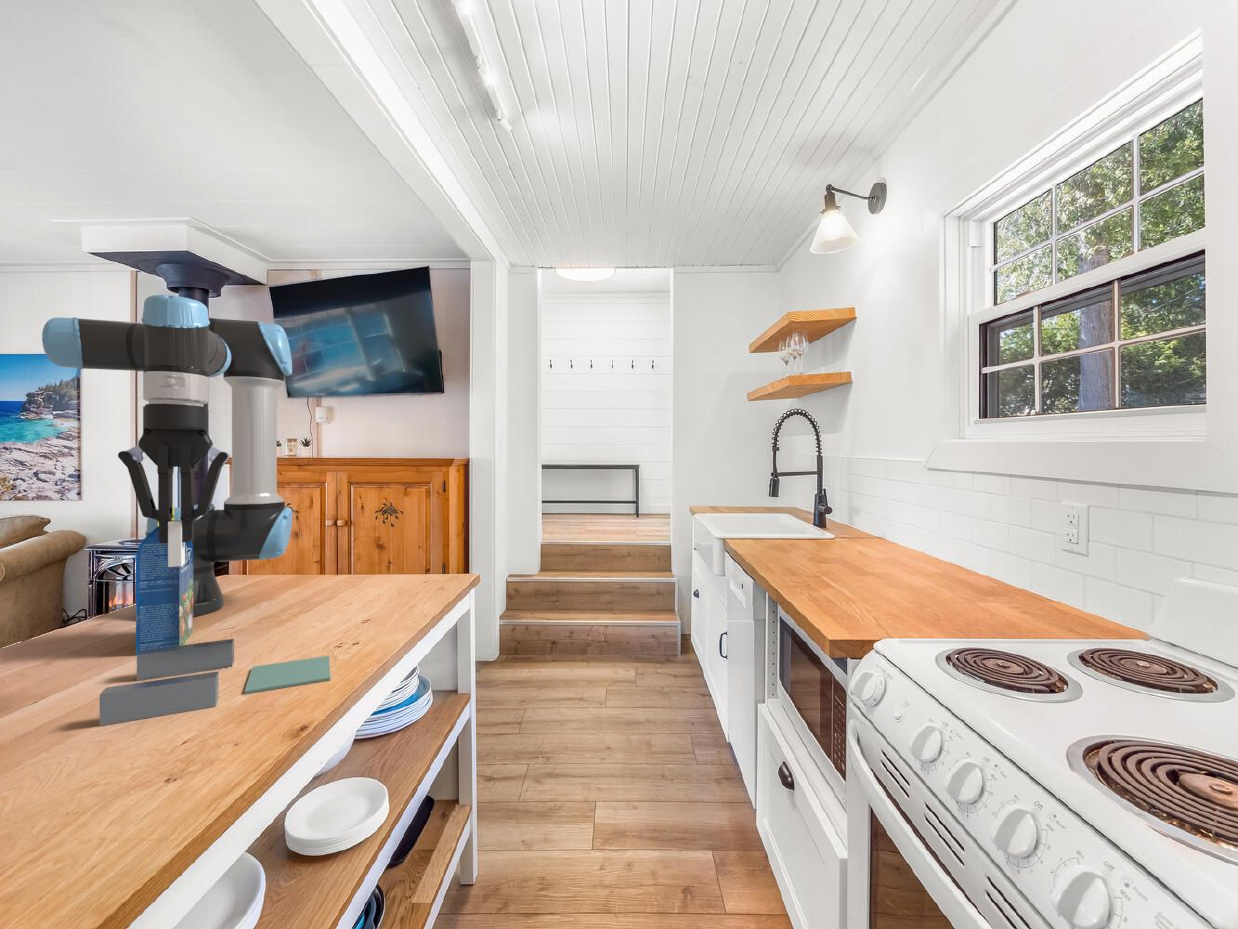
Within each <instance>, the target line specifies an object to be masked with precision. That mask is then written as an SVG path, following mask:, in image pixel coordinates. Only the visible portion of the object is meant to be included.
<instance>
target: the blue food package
mask: <svg viewBox="0 0 1238 929" xmlns="http://www.w3.org/2000/svg"><path fill="white" fill-rule="evenodd" d="M174 508H175V506H173V515H174ZM172 520H174V516H173V518H172ZM135 556H136V557H135V616H136V617H135V657H137V654H138V653H139V652H140V651H141V650H147V649H155V648H163V647H171V646H179V645H186V644H185V643H186V642H187V641H188V640H189V639H190V637H191V635H192V634H193V632H194V617H193V543H192V541H191V542H185V564H183V565H182V566H176V567H168V543H162V544H161V543H160V541H159V522H158V527H156V528H155V529H154V530H153V531H152V532H151V533H150V534H149V535H148V536H147V537H146V536H145V537H144V539H143V540H142V541H141V542H140V544H139V545H138V548H137V551H136V555H135ZM192 631H193V632H192ZM191 633H192V634H191ZM187 639H188V640H187ZM186 640H187V641H186ZM185 641H186V642H185Z"/></svg>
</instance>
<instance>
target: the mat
mask: <svg viewBox="0 0 1238 929" xmlns="http://www.w3.org/2000/svg"><path fill="white" fill-rule="evenodd" d="M330 667H331V665H330V655H324V656H323V655H322V656H318V657H312V658H311V657H310V658H304V659H297V660H289V661H284V662H283V661H282V662H277V663H269V664H263V665H256V666H252V667H251V670H250V671H249V672H250V674H249V676H248V679H247V682H246V685H245V688H244V691H243V692H244V693H243V695H247V694H253V693H259V692H260V693H261V692H265V691H272V690H273V691H274V690H277V689H283V688H290V687H298V686H303V685H309V684H314V683H320V682H327V681H331V671H330V669H331V668H330Z"/></svg>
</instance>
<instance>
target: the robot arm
mask: <svg viewBox="0 0 1238 929" xmlns="http://www.w3.org/2000/svg"><path fill="white" fill-rule="evenodd" d="M143 302H144V303H143V310H142V317H141V321H140V322H138V321H120V320H102V319H92V318H91V319H90V318H78V317H59V316H57V317H56V316H55V317H52V318H50V319H48V320H47V321H46V322H45V324H44V325H43V328H42V333H41V338H42V339H41V340H42V341H41V343H42V347H43V348H42V349H43V352H44V354H45V355H46V357H47V359H49V360H48V361H50V362H51V363H53V364H54V365H56V366H58V367H63V368H74V369H78V370H84V369H85V370H109V371H111V370H113V371H130V372H131V371H135V372H142V398H143V400H145V402H148V403H146V404H144V406H142V412H143V413H142V435H141V437H140V438H139V439H138V444H137V445H136V446H134V447H131V448H129V449H127V450H121V451H119V452H118V454H117V456H118V458H119V460H120V461H121V462H122V463H123V464H124V466H125V467H126V468H127V470H128V474H129V477H130V480H131V483H132V486H133V489H134V493H135V496H136V499H137V502H138V505H139V506H138V507H139V509H140V512H141V515H142V517H143V518H145V519H146V531H145V533H144V534H145V538H146V537H147V536H148V535H149V534H150V533H151V532H152V531H153V530H154V529H155V528H156V527H158V522H159V541H160V543H161V544H162V543H168V567H176V566H182V565H183V564H185V542H191V541H192V543H193V618H194V617H198V616H204V615H207V613H208V614H211V613H214V612H217V611H219V610H221V609H222V607H223V608H224V594H223V592H222V590H221V587H220V585H219V583H218V581H217V578H216V575H215V563H217V562H218V563H222V562H238V561H254V560H255V561H257V560H258V561H262V560H272V559H279V558H280V557H281V556H283V555H284V554H285V553H286V551H287V549H288V546H289V542H290V539H291V538H290V537H291V533H292V527H293V509H292V508H290V507H288V506H285V499H284V498H283V497H282V496H281V495H279V493H278V489H277V488H278V483H277V482H278V477H277V476H278V474H277V473H278V472H277V471H278V468H277V467H278V466H277V465H278V459H277V458H278V452H277V450H278V449H277V448H278V444H277V443H278V439H277V438H278V429H277V428H278V425H277V421H278V418H277V417H278V414H277V412H278V408H277V407H278V406H277V405H278V404H277V401H278V400H277V399H278V398H277V396H278V395H277V391H278V389H279V388H281V387H282V386H283V385H285V376H286V377H288V376H292V375H293V360H292V354H291V347H290V344H289V340H288V336H287V333H286V331H285V330H284V328H283V327H282V326H281V325H279V324H276V323H271V322H270V323H269V322H262V321H260V320H258V321H255V320H254V321H253V320H240V319H229V318H228V319H225V318H215V317H214V318H212V317H209V311H208V310H209V309H208V307H207V306H206V305H205V304H204V303H202V302H201V301H198V300H195V299H192V298H189V297H184V296H180V295H179V296H177V295H169V294H154V295H149V296H148V297H147V298H146V299H145V300H144V301H143ZM220 375H223V377H222V378H223V381H225V382H226V383H227V384H228V385H229V386H230V387H231V455H230V453H229V452H226V451H222V450H220V449H219V448H217V447H215V446H214V445H213V444H214V443H213V440H211V438H210V435H209V409H208V408H207V407H205V406H204V405H207V404H208V403H209V391H210V390H209V389H210V388H209V381H210V380H209V378H215V377H218V376H220ZM143 454H145V455H146V457H148V458H149V459H150V461H152V463H153V464H155V466H157V469H156V470H157V471H156V472H157V475H158V477H157V478H158V482H157V484H158V485H157V494H158V495H157V499H158V500H157V503H158V504H157V507H158V508H157V507H156V503H155V500H154V498H153V494H152V490H151V487H150V484H149V481H148V478H147V475H146V471H145V468H144V465H143V463H142V462H143V461H144V456H143ZM207 454H209V456H208V460H209V462H210V465H209V468H208V470H207V474H206V476H205V481H204V484H203V487H202V491H201V493H200V497H199V501H198V503H197V504H195V472H196V466H197V465H198V464H199V463H200V462H201V461H203V459H204V458H205V456H206V455H207ZM230 458H231V495H230V496H229V497H228V498H225V500H224V501H223V509H216V507H215V505H214V504H213V503H212V502H213V498H214V495H215V492H216V488H217V485H218V481H219V478H220V475H221V470H222V468H223V467H224V465H226V463H227V462H228V460H230ZM176 467H177V468H179V472H180V506H179V507H177V506H176V507H174V505H173V503H174V500H173V498H174V496H173V493H174V488H173V487H174V486H173V484H174V482H173V481H174V480H173V478H174V476H173V475H174V470H175V469H174V468H176ZM173 507H174V515H173ZM173 516H174V520H172V518H173ZM203 614H204V615H203ZM134 616H135V618H136V615H134Z"/></svg>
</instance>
